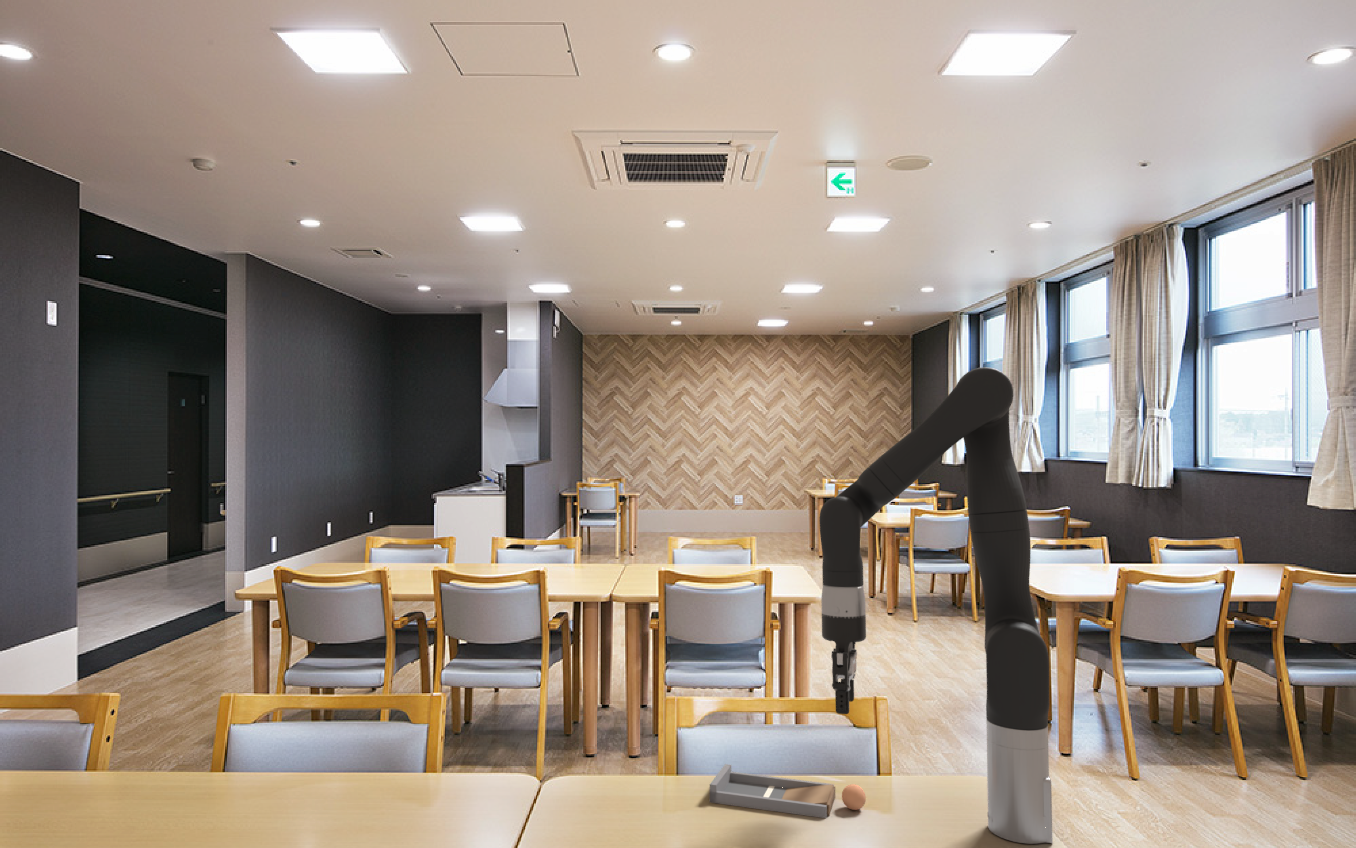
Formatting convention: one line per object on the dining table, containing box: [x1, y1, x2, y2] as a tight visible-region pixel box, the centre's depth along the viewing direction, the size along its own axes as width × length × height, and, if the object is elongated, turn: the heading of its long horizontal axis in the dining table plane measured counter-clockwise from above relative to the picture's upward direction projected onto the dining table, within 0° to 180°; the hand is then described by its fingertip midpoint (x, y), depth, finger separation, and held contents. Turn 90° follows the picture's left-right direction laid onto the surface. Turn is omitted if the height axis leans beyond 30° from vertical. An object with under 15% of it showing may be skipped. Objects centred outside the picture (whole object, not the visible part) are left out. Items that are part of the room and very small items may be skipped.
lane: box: [709, 763, 835, 819], centre depth 141 cm, size 20×11×3 cm, turn 72°
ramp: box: [782, 783, 836, 817], centre depth 139 cm, size 9×9×3 cm
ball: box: [841, 783, 867, 811], centre depth 137 cm, size 4×4×4 cm
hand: (845, 707), depth 139 cm, fingers open, 8 cm apart
